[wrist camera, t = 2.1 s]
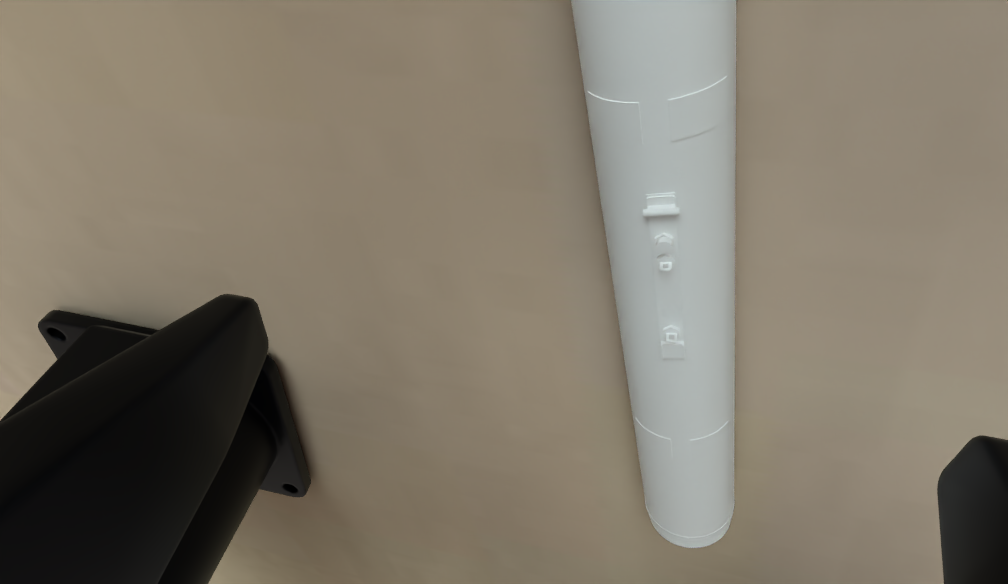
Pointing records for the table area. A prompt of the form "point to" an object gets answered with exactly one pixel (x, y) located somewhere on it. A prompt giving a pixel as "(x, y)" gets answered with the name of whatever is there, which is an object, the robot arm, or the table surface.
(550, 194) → the table surface
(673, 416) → the white model rocket
